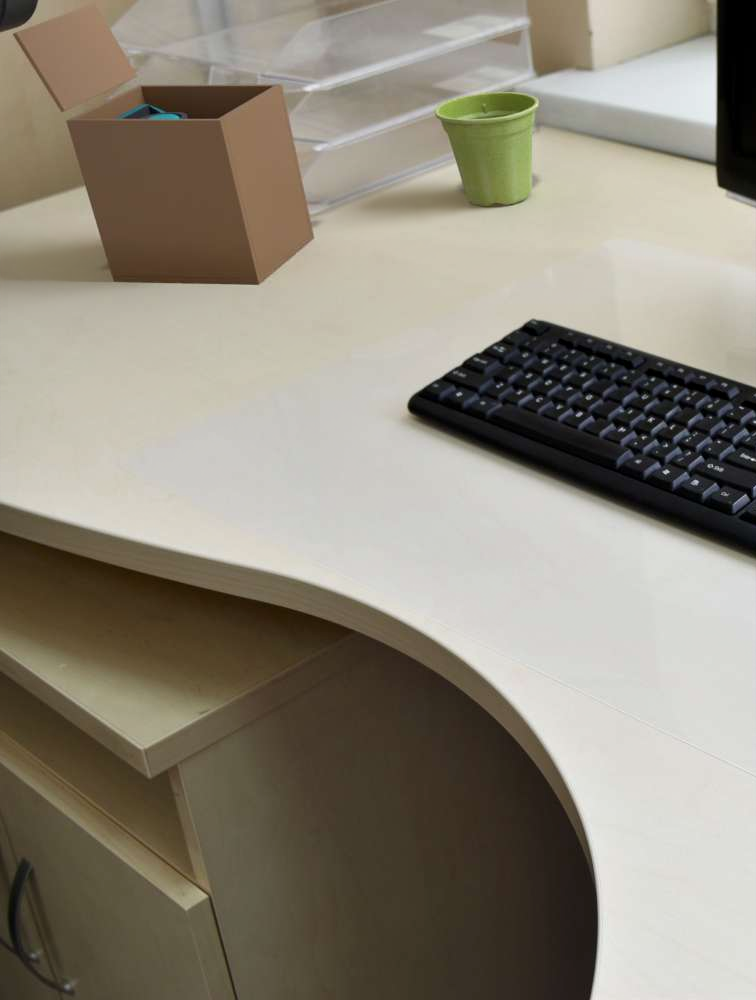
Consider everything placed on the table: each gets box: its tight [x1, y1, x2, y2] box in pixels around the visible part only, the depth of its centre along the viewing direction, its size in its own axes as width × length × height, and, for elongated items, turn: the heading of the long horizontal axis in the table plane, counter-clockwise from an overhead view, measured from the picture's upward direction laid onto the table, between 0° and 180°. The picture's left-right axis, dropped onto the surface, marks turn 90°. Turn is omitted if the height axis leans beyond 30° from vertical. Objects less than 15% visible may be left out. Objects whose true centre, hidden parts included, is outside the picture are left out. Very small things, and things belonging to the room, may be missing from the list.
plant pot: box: [434, 91, 540, 207], centre depth 128 cm, size 9×9×9 cm
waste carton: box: [66, 83, 315, 285], centre depth 115 cm, size 13×11×14 cm
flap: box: [12, 3, 138, 113], centre depth 111 cm, size 6×11×1 cm
